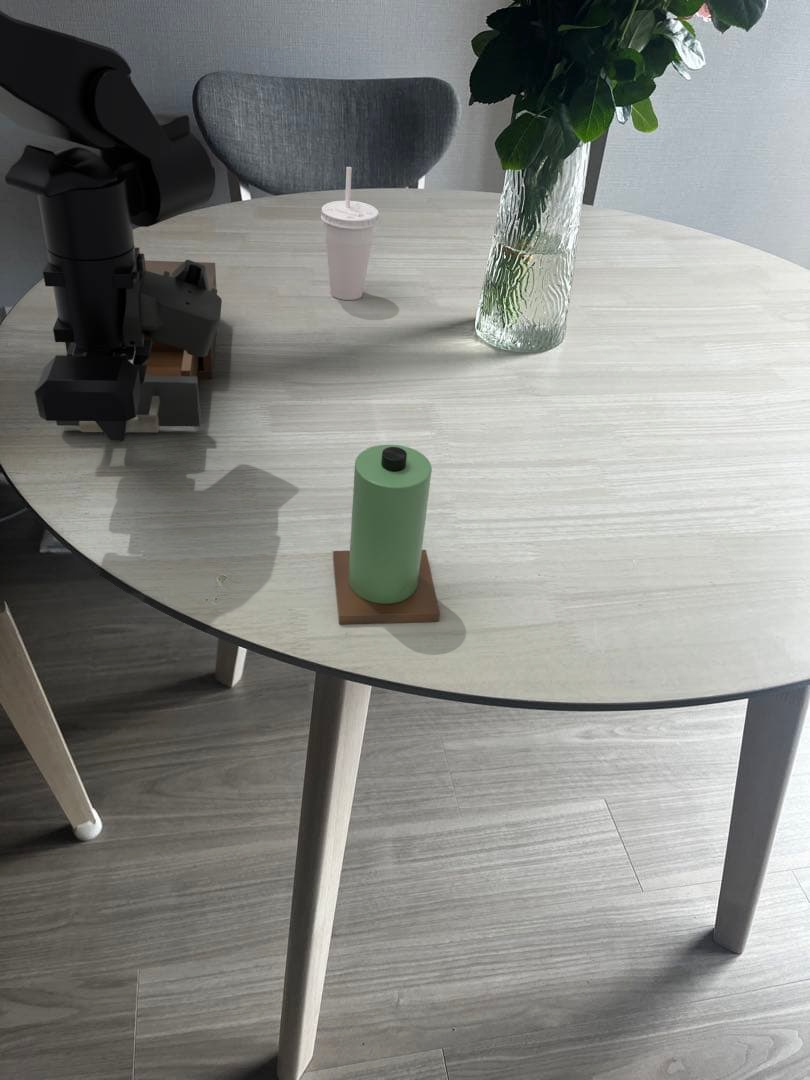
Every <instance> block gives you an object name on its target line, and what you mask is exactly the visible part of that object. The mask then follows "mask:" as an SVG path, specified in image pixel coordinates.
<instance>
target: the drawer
mask: <svg viewBox="0 0 810 1080" xmlns="http://www.w3.org/2000/svg"><path fill="white" fill-rule="evenodd" d="M143 334H144V332H143ZM144 338H148V339H151V338H149V337H148V336H146V335H145V334H144ZM151 340H152V346H151V351H150V355H149V358H148V359H147V360H146V361H145V362H144V363H143V364H142V365H147V369H146V374H145V379H144V382H143V384H142V385H141V386H140V400H139V405H138V410H137V414H136V417H135V418H133V419H131V420H128V421H127V426H126V433H159V430H160V427H200V426H201V407H200V392H199V378H198V377H197V370H198V362H199V357H196V356H193V355H190V354H188V353H187V352H186V351H185V350H183V349H180V348H177V347H173V346H170V345H167V344H164V343H161V342H158V341H156V340H153V339H151ZM55 423H56V426H59V427H61V426H63V427H66V426H69V427H71V426H73V427H74V426H75V427H76V426H77V427H78V426H79V430H80V432H81V433H104V432H103V431H102V429H101V428H100V427H99V426H98V424H97V423H96V422H95V421H55Z"/></svg>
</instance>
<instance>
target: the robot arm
mask: <svg viewBox="0 0 810 1080" xmlns="http://www.w3.org/2000/svg"><path fill="white" fill-rule="evenodd" d="M131 73H132V68H131V65H130V64H129V62H128V61H127V59H126V58H125V57H124V56H123V55H122V54H120V53H119V52H118V51H117V50H116V49H114V48H111V47H109V46H106V45H103V44H100V43H98V42H97V43H96V42H93V41H90V40H88V39H84V38H81V37H78V36H75V35H72V34H68V33H64V32H61V31H58V30H55V29H51V28H47V27H44V26H41V25H36V24H33V23H30V22H27V21H24V20H21V19H17V18H14V17H12V16H10V15H9V14H7V13H5V12H4V11H2V10H0V113H1V114H2V115H4V116H5V117H6V118H8V120H9V119H10V120H11V121H12V122H14V123H15V124H17V125H18V126H19V127H21V128H23V129H25V130H28V131H32V132H34V133H35V132H36V133H39V134H43V135H47V136H49V137H53V138H56V139H60V140H64V141H67V142H71V143H74V144H78V145H80V146H85V147H89V148H92V149H96V150H99V151H97V152H93V151H91V150H89V149H87V148H84V147H79V146H72V147H68V148H65V149H61V150H57V151H52V150H48V149H46V148H42V147H39V146H35V145H31V144H26V145H25V146H24V148H23V151H22V153H21V156H20V157H19V158H18V160H17V161H15V162H14V163H13V164H12V165H11V166H10V167H9V169H8V171H7V172H6V174H4V175H5V176H4V183H5V184H6V185H7V186H8V187H11V188H15V189H18V190H21V191H24V192H28V193H31V194H35V195H37V201H38V206H39V211H40V216H41V218H40V219H41V221H42V222H41V223H42V229H43V235H44V241H45V247H46V252H47V259H48V260H47V263H46V264H45V267H44V269H43V271H42V274H43V281H44V287H53V293H54V299H55V304H56V311H57V318H56V320H55V323H54V326H53V327H52V331H53V332H52V333H53V337H54V342H55V343H65V342H71V343H70V346H69V349H68V351H66V355H63V354H62V355H58V354H57V355H55V356H54V357H53V358H52V359H51V360H50V361H49V362H48V363H46V365H45V366H44V367H43V369H42V372H41V374H40V378H39V380H38V383H37V385H36V387H35V390H34V396H35V401H36V405H37V411H38V416H39V417H40V418H42V419H43V420H45V421H47V422H56V421H95V422H96V423H97V424H98V426H99V427H100V428H101V429H102V431H103V432H102V433H104V435H105V436H106V438H108V440H109V441H111V442H123V441H125V439H126V433H127V432H126V426H127V421H128V420H131V419H133V418H135V417H136V414H137V410H138V405H139V400H140V386H141V385H142V384H143V382H144V379H145V374H146V369H147V365H142V364H143V363H144V362H145V361H146V360H147V359H148V358H149V355H150V351H151V346H152V340H151V339H153V340H156V341H158V342H161V343H164V344H167V345H170V346H173V347H177V348H180V349H183V350H185V351H186V352H187V353H188V354H190V355H193V356H196V357H204V356H207V354H208V352H209V349H210V346H211V343H212V340H213V337H214V334H215V332H216V329H217V330H218V325H219V323H220V320H221V317H222V316H221V315H222V305H223V304H222V303H223V300H222V298H221V297H220V295H218V288H216V289H214V288H212V291H209V284H208V279H207V274H206V269H205V266H204V265H201V264H199V263H196V262H197V261H193V260H191V259H186V260H184V261H183V262H184V263H182V264H181V265H180V266H179V267H178V268H177V269H176V270H175V271H174V272H173V273H172V274H171V276H169V275H170V272H167V271H164V274H163V275H159V274H156V273H152V272H149V271H146V266H145V260H146V259H145V254H144V253H141V252H140V251H141V250H140V247H135V239H134V231H133V226H137V227H142V228H148V227H151V226H155V225H157V224H160V223H162V222H164V221H167V220H169V219H172V218H174V217H177V216H179V215H182V214H184V213H188V212H189V211H192V210H194V209H197V208H200V207H202V206H204V205H205V204H206V203H208V202H209V201H210V199H211V198H212V197H213V194H214V192H215V187H216V177H217V176H216V169H215V167H214V166H213V165H212V160H211V158H210V156H209V153H208V152H207V150H206V148H205V146H204V144H203V143H201V141H200V139H199V138H197V137H196V136H195V135H194V133H192V132H191V124H190V117H189V115H188V114H186V113H182V112H181V113H180V112H177V111H172V110H170V109H169V110H168V109H165V110H160V111H158V112H156V113H154V114H153V112H152V111H151V109H150V107H149V106H148V105H147V103H146V101H145V100H144V98H143V96H142V95H141V93H140V92H139V90H138V89H137V87H136V86H135V85H134V82H133V81H132V77H131ZM143 332H144V334H145V335H146V336H148V337H149V338H151V339H148V338H144V334H143ZM216 333H217V332H216Z"/></svg>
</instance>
